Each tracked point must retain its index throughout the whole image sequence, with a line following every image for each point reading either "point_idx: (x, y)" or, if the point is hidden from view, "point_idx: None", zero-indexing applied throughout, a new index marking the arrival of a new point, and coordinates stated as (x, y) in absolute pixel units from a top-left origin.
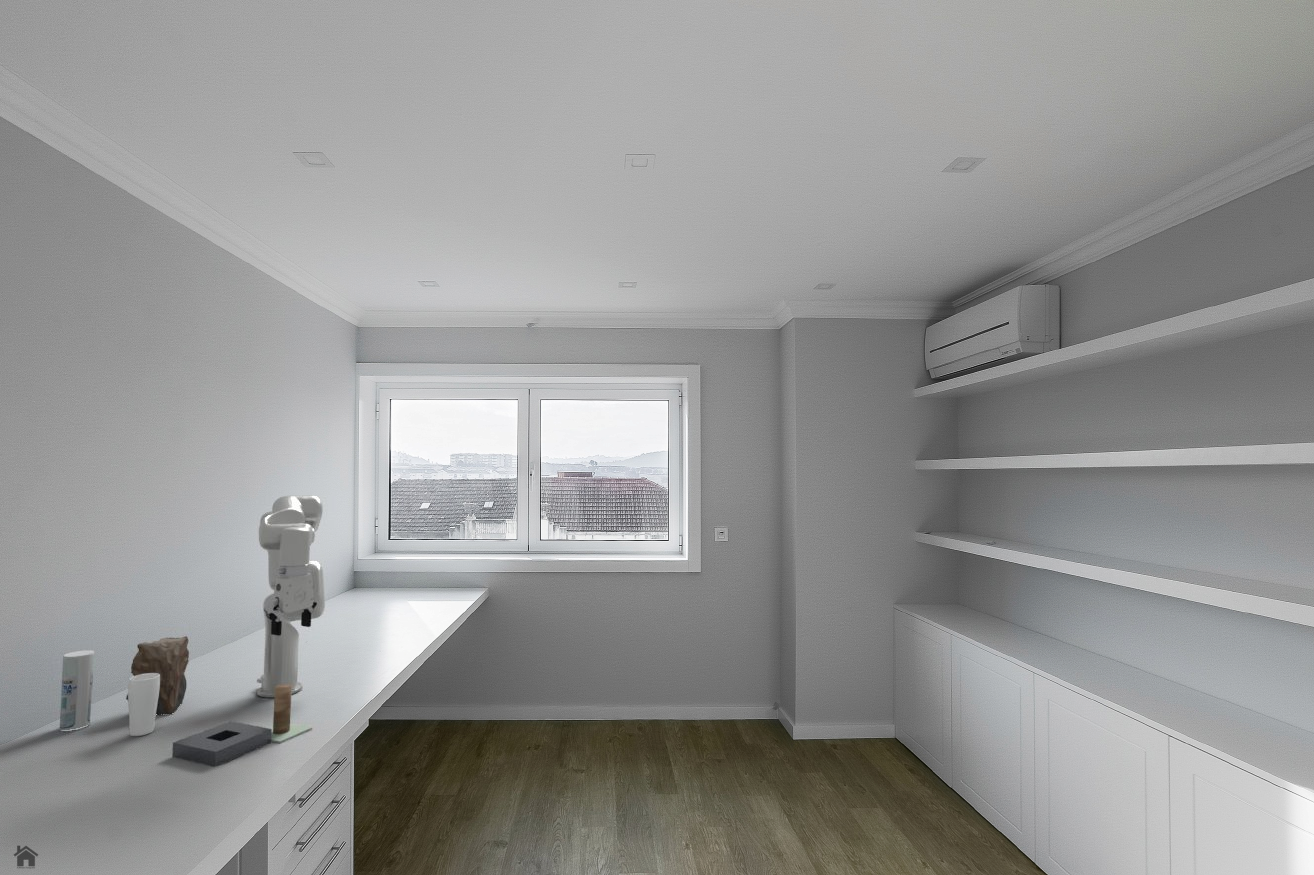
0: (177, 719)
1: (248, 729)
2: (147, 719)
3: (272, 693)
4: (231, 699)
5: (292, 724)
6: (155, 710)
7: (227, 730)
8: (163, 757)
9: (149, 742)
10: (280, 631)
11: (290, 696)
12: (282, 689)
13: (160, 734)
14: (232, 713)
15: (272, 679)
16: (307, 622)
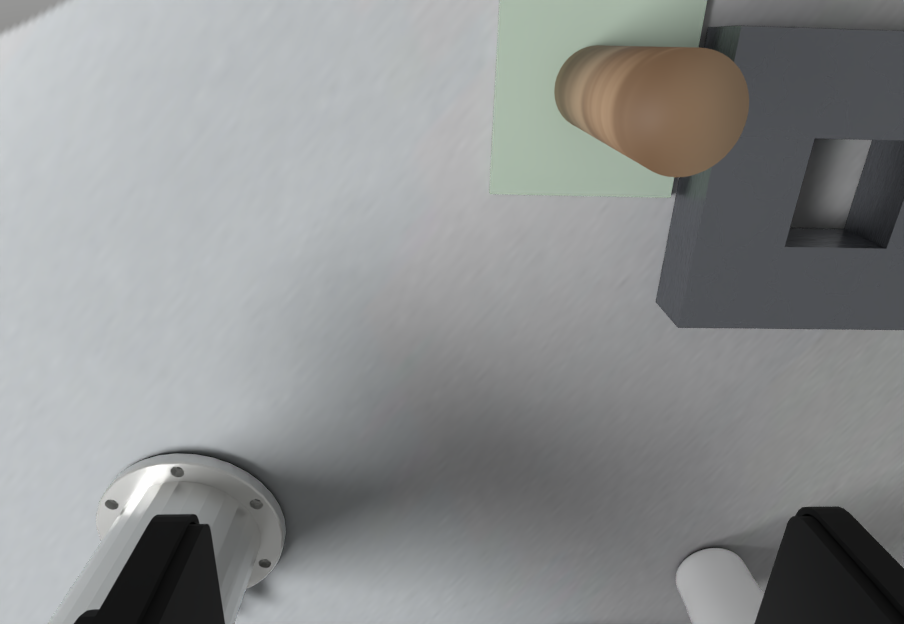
0: (575, 580)
1: (765, 148)
2: (749, 589)
3: (256, 508)
4: (354, 594)
5: (501, 113)
6: (728, 613)
7: (785, 239)
8: (898, 330)
9: (774, 486)
10: (864, 553)
11: (641, 52)
12: (736, 68)
13: (705, 515)
14: (465, 479)
15: (234, 564)
16: (180, 612)
